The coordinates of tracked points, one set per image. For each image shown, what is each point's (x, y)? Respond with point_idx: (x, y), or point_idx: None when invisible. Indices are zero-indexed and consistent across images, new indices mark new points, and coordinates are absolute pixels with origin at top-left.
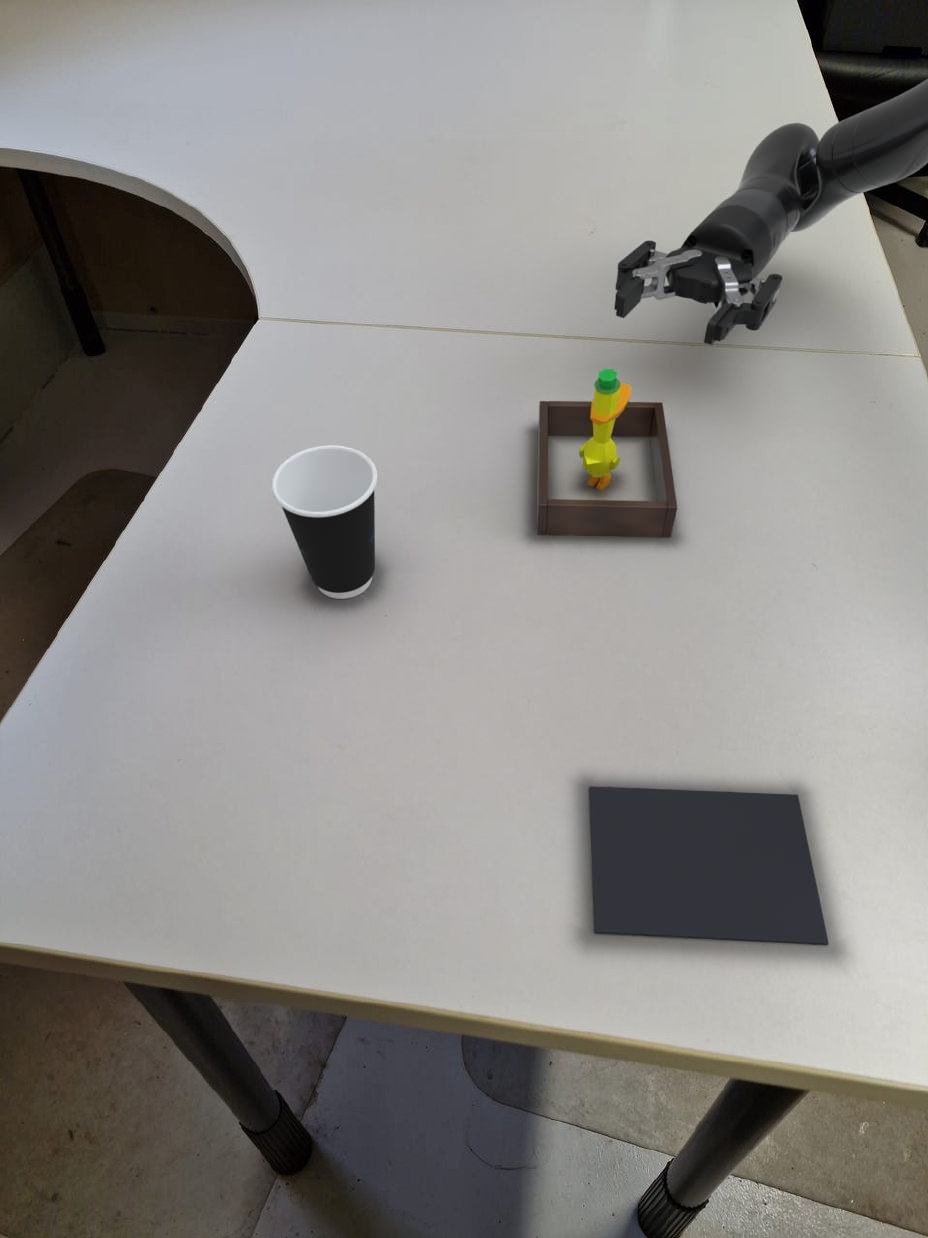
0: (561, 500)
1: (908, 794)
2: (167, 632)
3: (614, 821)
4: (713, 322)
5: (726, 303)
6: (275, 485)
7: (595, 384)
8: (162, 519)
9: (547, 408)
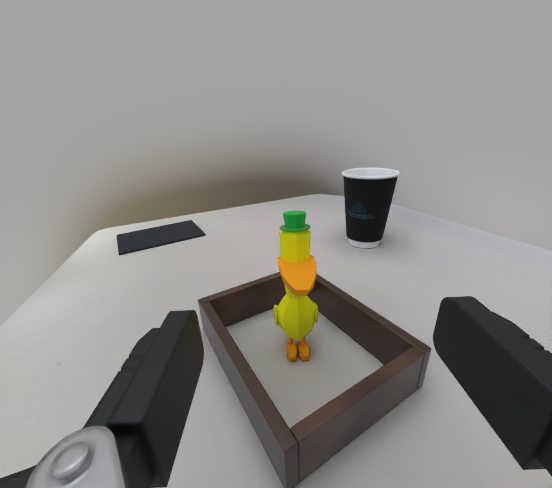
0: None
1: (61, 270)
2: None
3: (193, 231)
4: (179, 311)
5: (134, 419)
6: (381, 168)
7: (306, 224)
8: (467, 229)
9: (408, 341)
